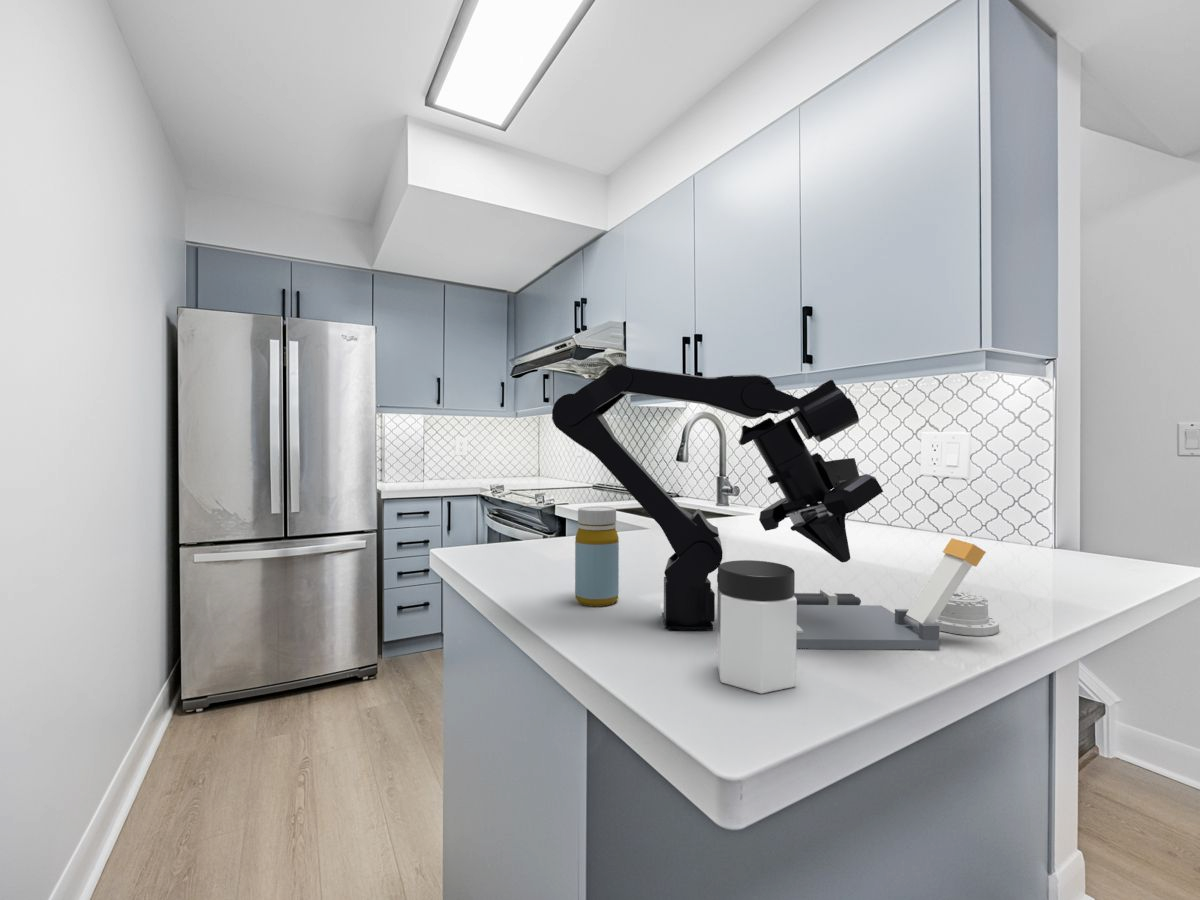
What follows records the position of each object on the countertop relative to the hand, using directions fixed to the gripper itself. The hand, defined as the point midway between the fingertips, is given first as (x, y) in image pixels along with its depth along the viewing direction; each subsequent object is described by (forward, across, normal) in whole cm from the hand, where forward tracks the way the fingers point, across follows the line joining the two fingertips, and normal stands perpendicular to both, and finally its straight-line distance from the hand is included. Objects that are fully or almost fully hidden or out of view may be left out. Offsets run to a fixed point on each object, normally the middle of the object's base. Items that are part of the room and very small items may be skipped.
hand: (846, 560), depth 76 cm
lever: (+11, -3, -3) cm, 11 cm away
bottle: (-9, +27, +26) cm, 38 cm away
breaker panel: (+8, +5, +4) cm, 10 cm away
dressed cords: (+6, +15, 0) cm, 17 cm away
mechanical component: (+17, +1, -12) cm, 21 cm away
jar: (+2, -5, +23) cm, 24 cm away
